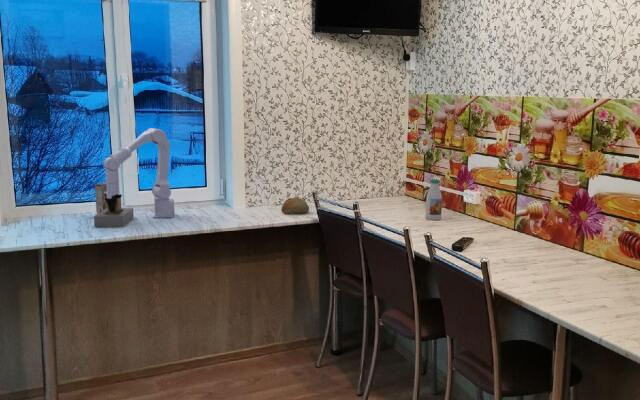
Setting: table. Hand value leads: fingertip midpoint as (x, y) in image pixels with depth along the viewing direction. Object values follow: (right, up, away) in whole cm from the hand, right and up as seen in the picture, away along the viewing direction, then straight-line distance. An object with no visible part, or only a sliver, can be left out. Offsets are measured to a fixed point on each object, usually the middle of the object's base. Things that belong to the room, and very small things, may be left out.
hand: (114, 210), depth 278 cm
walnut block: (0, -3, +1) cm, 3 cm away
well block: (0, -5, +1) cm, 6 cm away
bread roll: (+85, -2, +26) cm, 89 cm away
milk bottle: (+155, -5, +15) cm, 156 cm away
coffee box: (-9, -3, +17) cm, 20 cm away
